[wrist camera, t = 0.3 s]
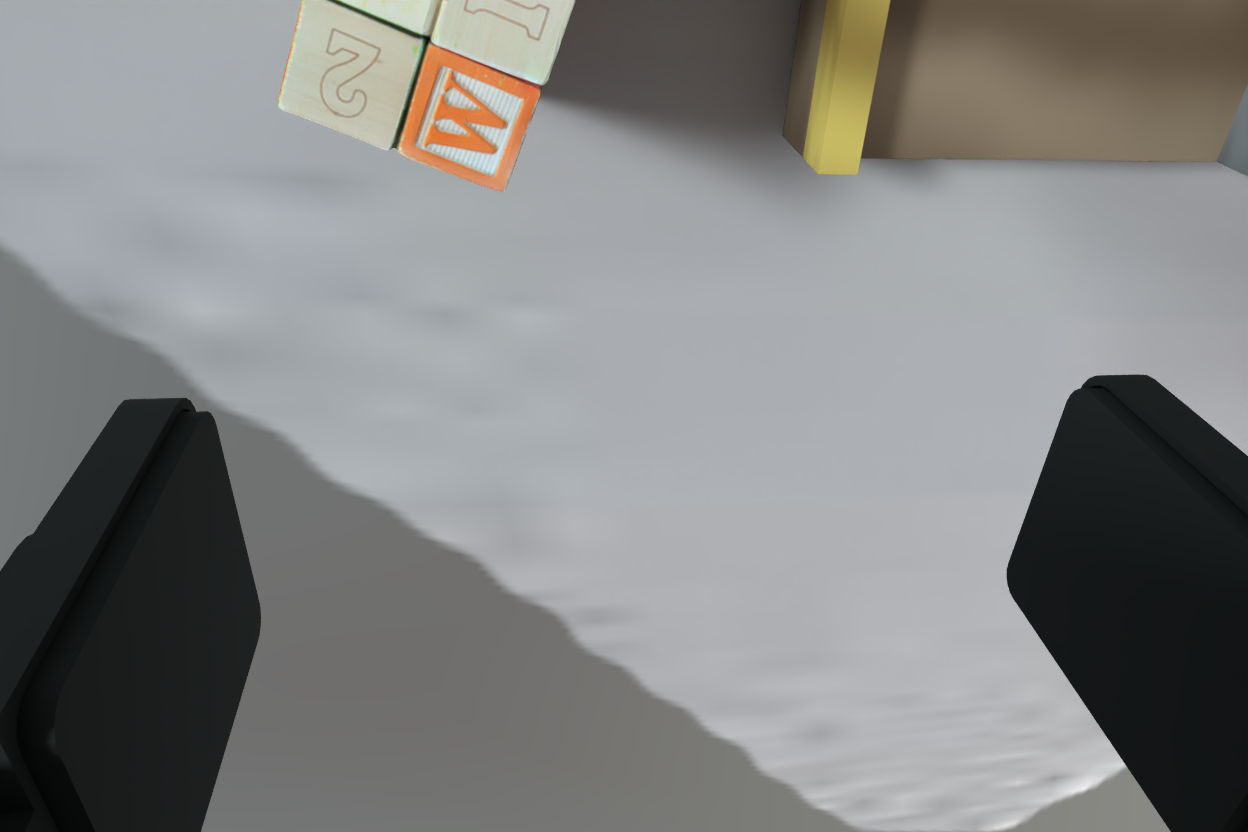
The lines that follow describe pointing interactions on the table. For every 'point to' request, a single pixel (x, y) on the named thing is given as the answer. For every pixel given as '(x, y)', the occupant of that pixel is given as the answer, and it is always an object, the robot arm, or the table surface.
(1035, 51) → the dock
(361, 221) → the table surface
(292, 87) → the stack of blocks
